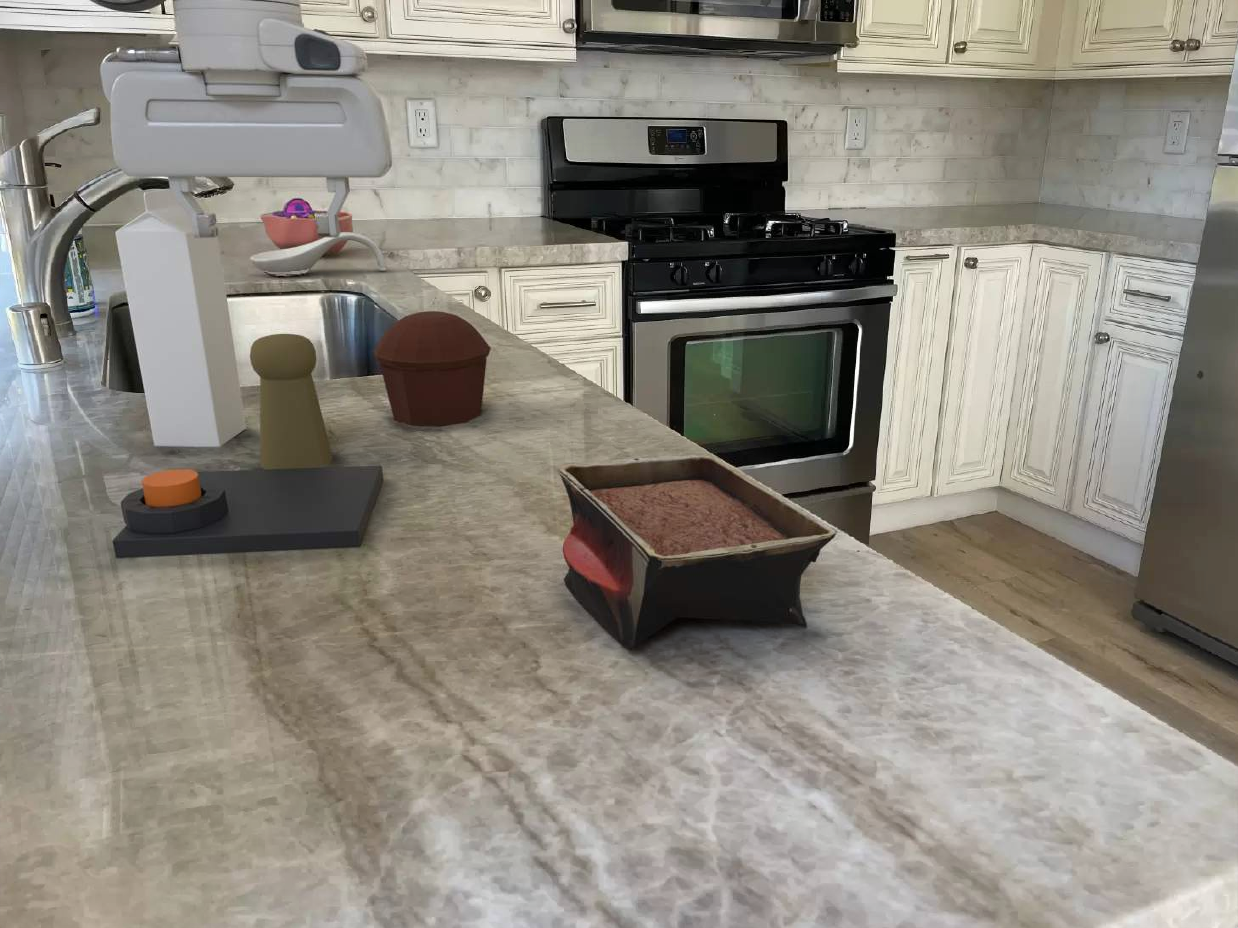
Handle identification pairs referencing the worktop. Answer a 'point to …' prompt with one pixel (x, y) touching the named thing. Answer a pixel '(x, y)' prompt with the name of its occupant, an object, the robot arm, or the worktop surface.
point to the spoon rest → (308, 254)
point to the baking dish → (683, 545)
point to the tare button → (171, 487)
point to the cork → (289, 404)
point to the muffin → (433, 368)
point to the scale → (255, 513)
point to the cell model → (300, 225)
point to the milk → (180, 326)
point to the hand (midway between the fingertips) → (268, 237)
